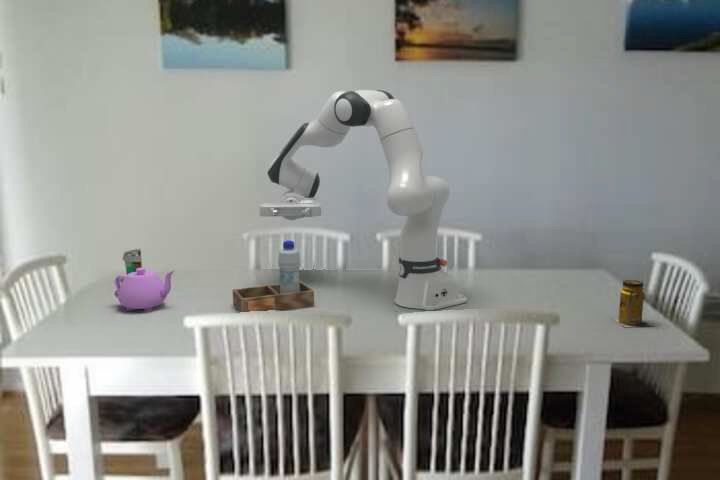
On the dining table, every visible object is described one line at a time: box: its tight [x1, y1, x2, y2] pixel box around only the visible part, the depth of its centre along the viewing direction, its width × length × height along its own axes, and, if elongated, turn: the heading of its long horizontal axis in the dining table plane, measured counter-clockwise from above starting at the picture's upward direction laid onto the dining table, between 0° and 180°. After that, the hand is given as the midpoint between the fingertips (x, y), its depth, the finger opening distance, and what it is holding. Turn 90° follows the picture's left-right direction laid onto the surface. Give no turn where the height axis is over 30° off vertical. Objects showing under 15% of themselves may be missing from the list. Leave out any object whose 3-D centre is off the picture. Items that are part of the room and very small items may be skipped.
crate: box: [232, 281, 315, 313], centre depth 201 cm, size 22×12×5 cm, turn 113°
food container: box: [121, 248, 143, 275], centre depth 231 cm, size 12×6×10 cm, turn 17°
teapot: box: [114, 267, 176, 312], centre depth 200 cm, size 20×14×12 cm
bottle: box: [277, 240, 301, 294], centre depth 202 cm, size 7×7×20 cm
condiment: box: [613, 279, 655, 328], centre depth 183 cm, size 7×8×12 cm
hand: (289, 213), depth 210 cm, fingers open, 8 cm apart
